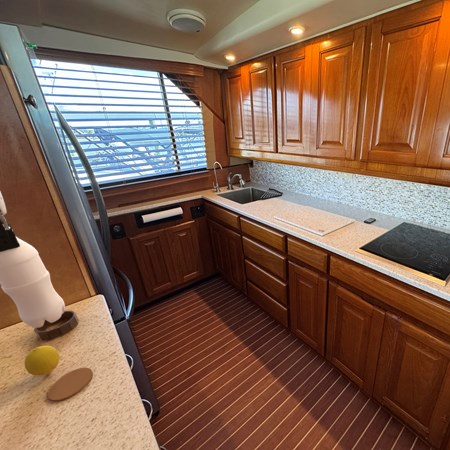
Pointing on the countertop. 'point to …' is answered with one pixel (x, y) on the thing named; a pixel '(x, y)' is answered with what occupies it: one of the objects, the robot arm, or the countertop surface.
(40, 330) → the ring
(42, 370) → the lemon
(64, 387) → the cork coaster
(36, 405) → the countertop surface
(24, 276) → the water bottle
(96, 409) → the countertop surface
